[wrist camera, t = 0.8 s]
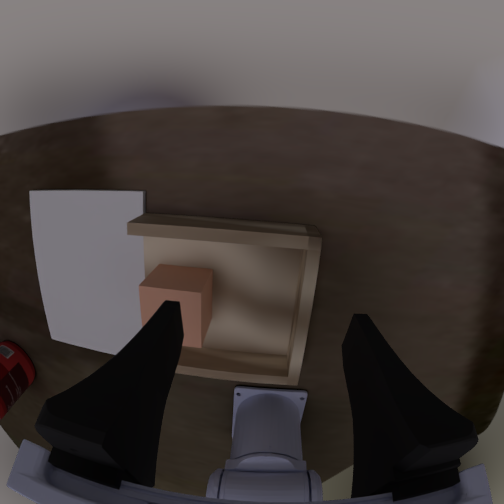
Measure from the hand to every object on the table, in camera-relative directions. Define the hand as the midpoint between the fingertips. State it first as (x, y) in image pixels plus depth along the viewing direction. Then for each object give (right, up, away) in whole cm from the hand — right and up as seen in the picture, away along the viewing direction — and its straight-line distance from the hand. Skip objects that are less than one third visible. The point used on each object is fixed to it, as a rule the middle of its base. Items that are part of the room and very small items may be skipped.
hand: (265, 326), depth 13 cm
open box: (-4, -1, +16) cm, 17 cm away
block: (-7, -1, +16) cm, 17 cm away
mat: (-18, +1, +17) cm, 24 cm away
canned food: (-36, -13, +22) cm, 44 cm away
